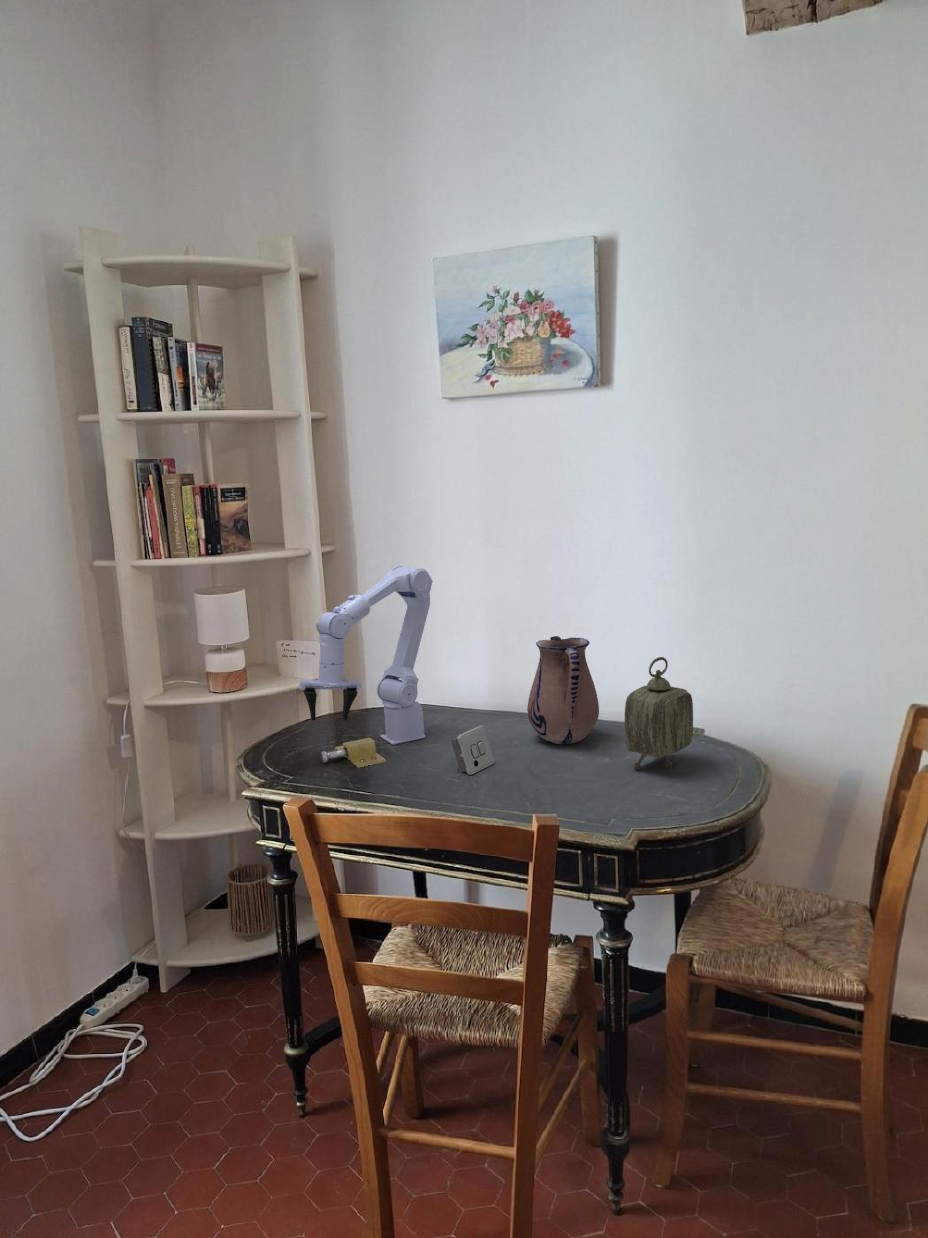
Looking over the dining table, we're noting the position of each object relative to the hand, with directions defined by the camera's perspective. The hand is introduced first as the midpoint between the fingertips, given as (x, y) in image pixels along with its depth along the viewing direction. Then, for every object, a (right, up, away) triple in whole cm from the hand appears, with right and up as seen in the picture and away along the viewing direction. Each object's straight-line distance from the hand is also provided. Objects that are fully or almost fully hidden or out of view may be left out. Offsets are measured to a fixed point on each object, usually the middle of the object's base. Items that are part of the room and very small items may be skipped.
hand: (328, 719), depth 219 cm
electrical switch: (+34, -11, -8) cm, 37 cm away
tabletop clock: (+76, -9, -13) cm, 78 cm away
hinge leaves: (+7, -9, +5) cm, 13 cm away
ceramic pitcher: (+58, -6, +7) cm, 59 cm away
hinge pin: (+3, -10, +2) cm, 10 cm away
